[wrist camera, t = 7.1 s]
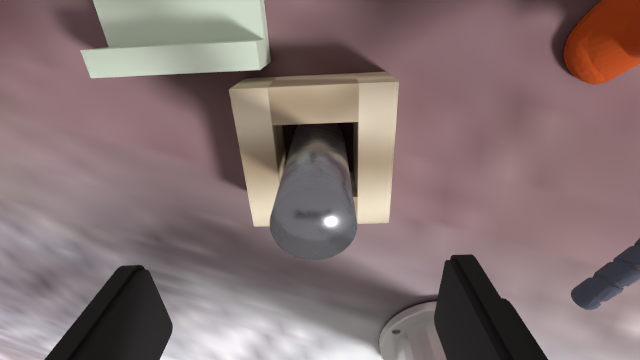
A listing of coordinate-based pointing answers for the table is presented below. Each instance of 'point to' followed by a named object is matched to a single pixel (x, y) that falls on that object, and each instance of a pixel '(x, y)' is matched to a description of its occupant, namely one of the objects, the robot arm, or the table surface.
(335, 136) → the grey round peg
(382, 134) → the socket
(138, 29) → the tray
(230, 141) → the table surface
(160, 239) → the table surface
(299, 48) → the table surface
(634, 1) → the toy drill
